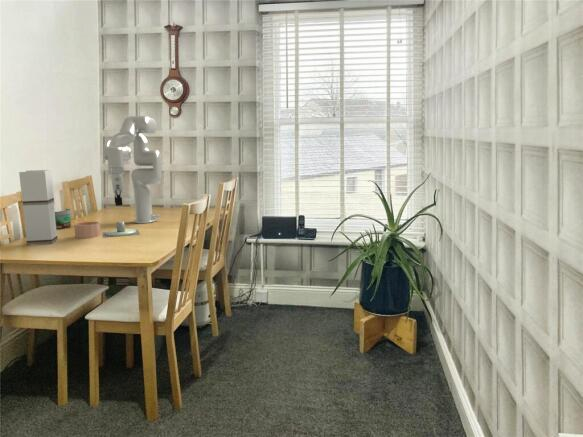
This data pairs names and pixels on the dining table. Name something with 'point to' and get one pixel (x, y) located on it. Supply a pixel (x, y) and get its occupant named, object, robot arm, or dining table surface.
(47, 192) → the grey two-tier tower
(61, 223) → the food container
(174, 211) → the dining table surface
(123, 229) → the lid
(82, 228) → the bowl
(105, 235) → the mat
